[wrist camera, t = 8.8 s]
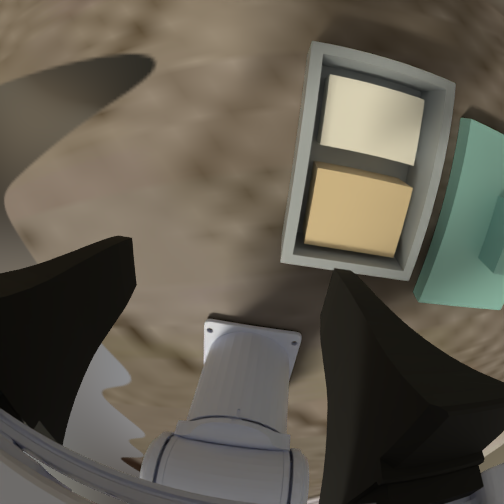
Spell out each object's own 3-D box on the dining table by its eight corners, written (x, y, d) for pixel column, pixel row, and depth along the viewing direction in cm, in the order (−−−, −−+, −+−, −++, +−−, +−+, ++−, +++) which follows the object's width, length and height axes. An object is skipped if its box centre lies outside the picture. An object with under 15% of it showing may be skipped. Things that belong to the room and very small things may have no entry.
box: (390, 252, 20) (408, 281, 16) (282, 234, 20) (280, 262, 17) (426, 86, 15) (455, 83, 11) (306, 55, 15) (312, 40, 11)
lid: (493, 301, 21) (512, 326, 17) (412, 291, 21) (429, 321, 18) (540, 158, 14) (569, 170, 11) (460, 117, 15) (491, 121, 12)
